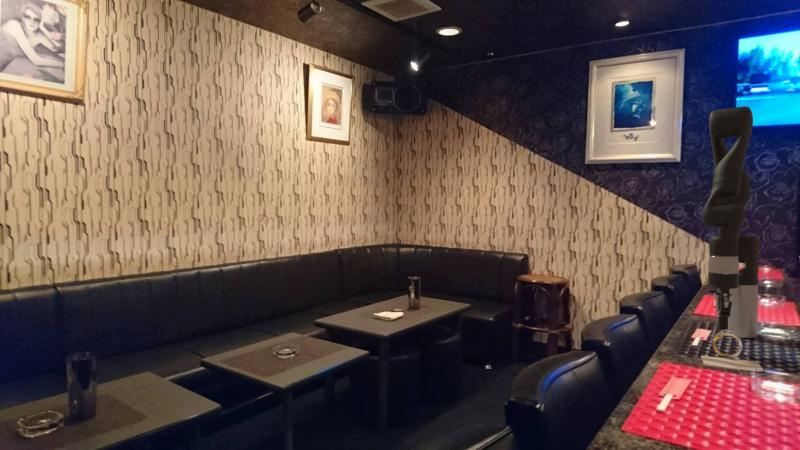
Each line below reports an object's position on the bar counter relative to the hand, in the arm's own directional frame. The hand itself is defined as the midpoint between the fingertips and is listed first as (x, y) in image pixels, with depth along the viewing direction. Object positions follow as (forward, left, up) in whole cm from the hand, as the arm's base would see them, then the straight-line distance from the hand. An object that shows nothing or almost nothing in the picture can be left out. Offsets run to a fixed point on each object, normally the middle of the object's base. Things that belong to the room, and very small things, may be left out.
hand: (723, 329), depth 142 cm
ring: (+7, 0, -7) cm, 10 cm away
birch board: (+13, 0, -7) cm, 15 cm away
